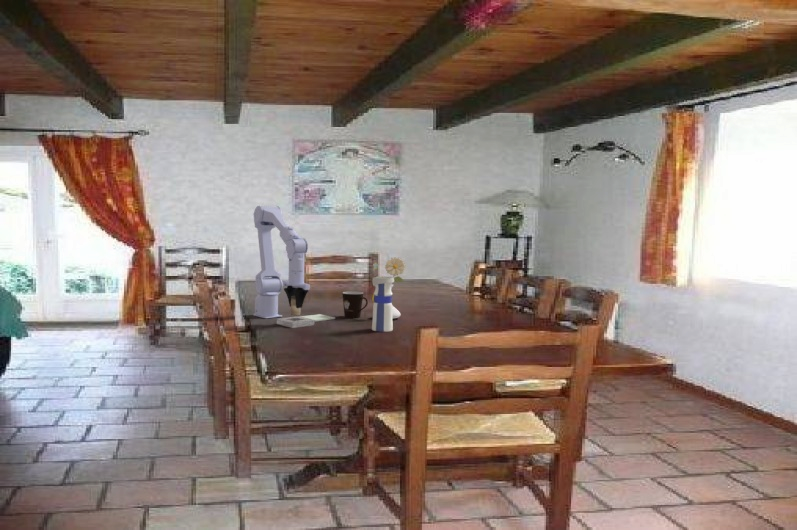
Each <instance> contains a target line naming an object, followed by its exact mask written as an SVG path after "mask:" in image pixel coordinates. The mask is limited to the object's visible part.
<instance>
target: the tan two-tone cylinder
mask: <svg viewBox="0 0 797 530" xmlns="http://www.w3.org/2000/svg"><path fill="white" fill-rule="evenodd" d="M301 309H302V308H296V299H295V296H291V307H290V316H292V317H297V316H302V314H301V312H302V310H301Z"/></svg>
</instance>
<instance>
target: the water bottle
mask: <svg viewBox="0 0 797 530" xmlns="http://www.w3.org/2000/svg"><path fill="white" fill-rule="evenodd" d="M372 265H373V269H372V270H373V271H374V270H378V266H379V263H377V261H375V262H374V263H373V264H372ZM393 277H394V276H383V275H380V276H376V277H372V285H373V287H375V290H374V292H373V294H372V300H371V301H372V303H373V306H372V320H371V321H372V322H371V323H372V325H371V330H372V331H374V332H392V331H393V329H394V327H393V320H394V319H392V314H393V307H392V305H393V303H392V295H394V293H393V292H392V291H393V290H392V289H391V285H393V283H394V282H395V280H394V278H395V277H394V278H393Z"/></svg>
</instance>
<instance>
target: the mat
mask: <svg viewBox="0 0 797 530" xmlns="http://www.w3.org/2000/svg"><path fill="white" fill-rule="evenodd" d="M299 316H300V317H304V318H309V319H313V320H315V322H323V321H330V320H336V317H335V316H331V315H330V316H329V315H326V314H321V313H318V314H310V315H299Z"/></svg>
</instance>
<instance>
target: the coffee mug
mask: <svg viewBox="0 0 797 530" xmlns="http://www.w3.org/2000/svg"><path fill="white" fill-rule="evenodd" d="M363 300H365V305H364V306H363V302H364V301H363ZM342 302H343V303H342V304H343V314H344V318H345V319H361V315H362V311H363V310H364V309H365V308H366V307H367V306H368V303H369V302H368V299H367V298H366V297H364V292H362V291H343V292H342Z"/></svg>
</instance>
